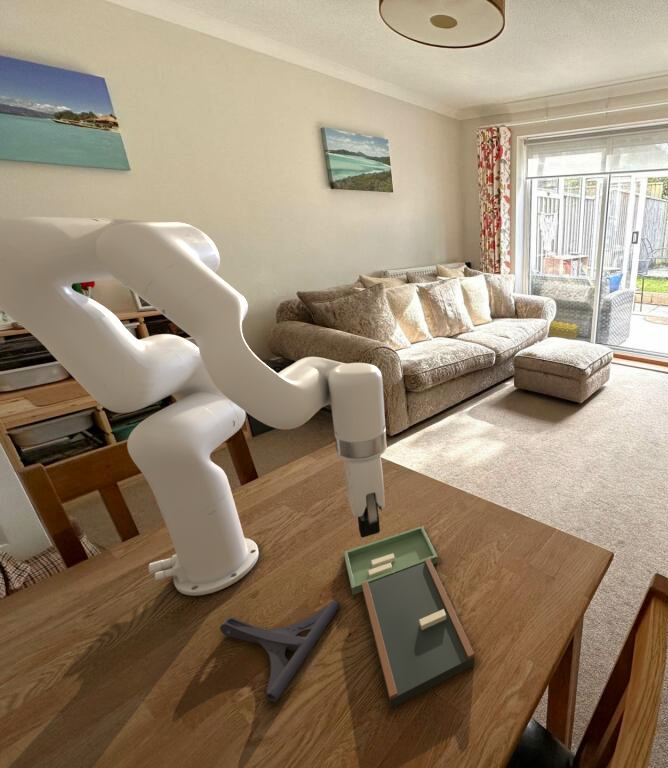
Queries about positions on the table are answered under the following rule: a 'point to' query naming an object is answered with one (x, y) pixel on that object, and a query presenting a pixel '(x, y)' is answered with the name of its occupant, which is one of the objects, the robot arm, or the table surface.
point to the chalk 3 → (432, 619)
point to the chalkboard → (415, 632)
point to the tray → (404, 546)
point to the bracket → (283, 644)
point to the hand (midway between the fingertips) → (369, 532)
